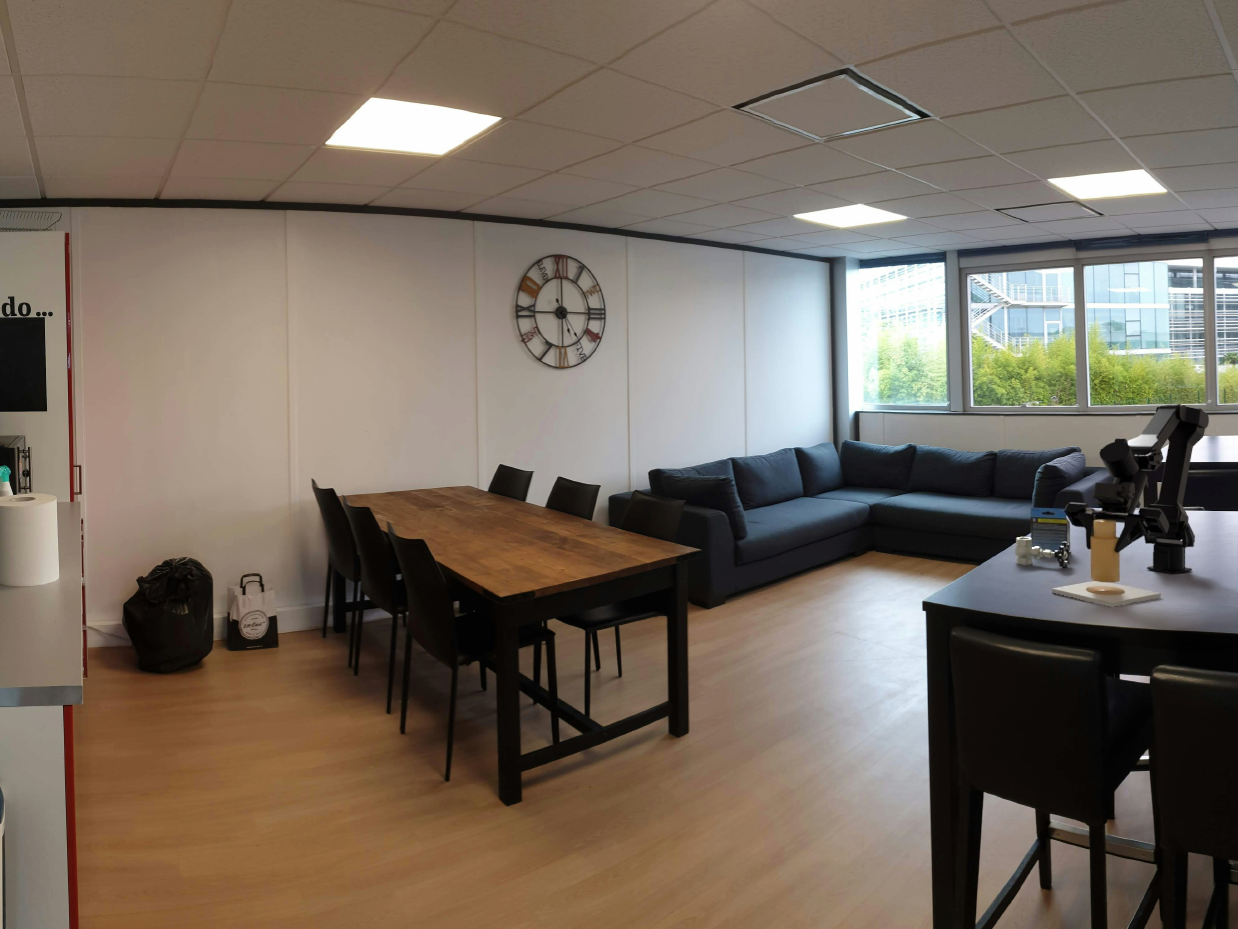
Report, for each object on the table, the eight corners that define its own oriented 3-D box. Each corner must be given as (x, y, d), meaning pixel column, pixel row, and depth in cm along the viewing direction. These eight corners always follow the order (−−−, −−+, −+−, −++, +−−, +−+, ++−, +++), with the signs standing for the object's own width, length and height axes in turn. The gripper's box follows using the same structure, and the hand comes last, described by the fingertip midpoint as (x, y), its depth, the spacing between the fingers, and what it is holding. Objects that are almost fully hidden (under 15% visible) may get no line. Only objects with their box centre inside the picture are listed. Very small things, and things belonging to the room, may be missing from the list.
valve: (1010, 565, 201) (1062, 571, 193) (1010, 539, 201) (1062, 544, 192) (1020, 560, 206) (1071, 566, 197) (1020, 535, 205) (1071, 539, 197)
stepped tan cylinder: (1092, 575, 173) (1091, 518, 172) (1120, 577, 170) (1120, 519, 168) (1089, 581, 168) (1089, 522, 167) (1118, 583, 165) (1118, 523, 164)
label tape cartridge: (1071, 553, 212) (1070, 506, 211) (1067, 555, 209) (1067, 508, 208) (1034, 550, 218) (1033, 505, 217) (1030, 552, 215) (1029, 507, 214)
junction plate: (1098, 584, 178) (1098, 579, 178) (1160, 598, 165) (1160, 592, 165) (1052, 593, 173) (1051, 587, 173) (1111, 607, 160) (1111, 601, 160)
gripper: (1067, 466, 177) (1042, 522, 172) (1163, 469, 162) (1139, 531, 156) (1085, 497, 182) (1061, 552, 177) (1179, 503, 167) (1156, 564, 161)
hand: (1102, 549), depth 168 cm, fingers closed on stepped tan cylinder, 5 cm apart
